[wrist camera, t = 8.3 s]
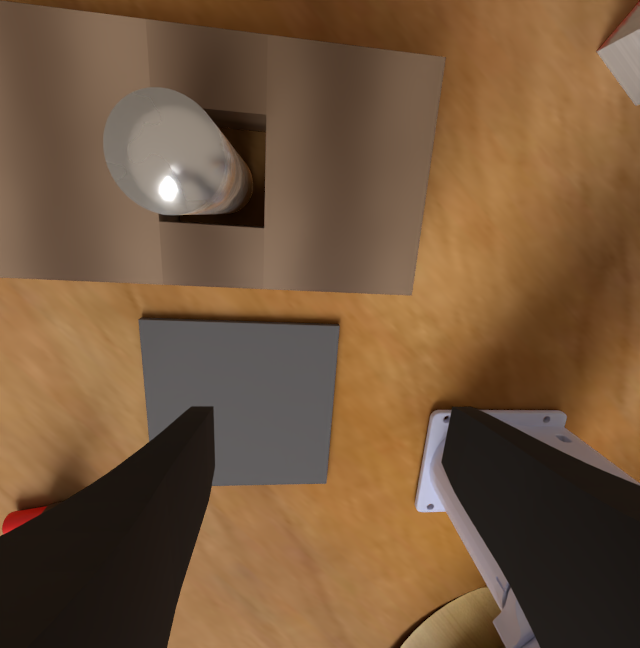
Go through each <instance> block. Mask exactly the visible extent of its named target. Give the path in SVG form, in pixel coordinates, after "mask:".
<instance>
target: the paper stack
mask: <svg viewBox="0 0 640 648" xmlns="http://www.w3.org/2000/svg"><path fill="white" fill-rule="evenodd" d="M500 613H501V610H500V608H499V606H498V604H497V603H496V601H495V599H494V597H493V595H492V594H491V592H490V590H489V588H488V587H487V588H479V589H477V590H475V591H472V592H469V593H467V594H465V595H463V596H461V597H459V598H457V599H456V600H454V601H452V602H450V603H448V604H447V605H446V606H444V607H443V608H441V609H440V610H438V611H437V612H435V613H434V614H433V615H431V616H430V617H429V618H428V619H426V620H425V621H424V622H423V623H422V624H421V625H420V626H419V627H418V628H417V629H416V630H415V631H414V632H413V633H412V634H411V635H410V636H409V637H408V639H407V640H406V641H405V642H404V643H403V645H402V646H401V647H400V648H506V647H505V645H504V643H503V641H502V639H501V637H500V635H499V633H498V631H497V630H496V628H495V626H494V624H493V620H494V619H495V618H496V617H497V616H498V615H499V614H500Z"/></svg>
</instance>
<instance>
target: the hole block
mask: <svg viewBox="0 0 640 648" xmlns="http://www.w3.org/2000/svg"><path fill="white" fill-rule="evenodd" d="M445 60H446V57H440V56H432V55H424V54H416V53H409V52H401V51H393V50H385V49H377V48H369V47H361V46H354V45H346V44H338V43H330V42H322V41H314V40H307V39H299V38H291V37H283V36H275V35H267V34H260V33H252V32H244V31H236V30H228V29H220V28H212V27H205V26H197V25H189V24H181V23H173V22H165V21H158V20H150V19H142V18H134V17H126V16H118V15H111V14H103V13H95V12H87V11H79V10H71V9H64V8H56V7H48V6H40V5H32V4H24V3H16V2H9V1H1V0H0V277H1V278H24V279H47V280H70V281H92V282H115V283H138V284H161V285H184V286H207V287H230V288H252V289H275V290H298V291H321V292H344V293H367V294H390V295H412V290H413V283H414V276H415V269H416V262H417V255H418V248H419V241H420V234H421V227H422V220H423V213H424V206H425V199H426V192H427V185H428V178H429V171H430V164H431V157H432V150H433V143H434V136H435V130H436V123H437V116H438V109H439V102H440V95H441V88H442V81H443V74H444V67H445ZM149 87H161V88H167V89H171V90H174V91H177V92H179V93H182V94H184V95H185V96H187V97H189V98H190V99H192V100H193V101H194V102H196V103H197V104H198V105H199V106H200V107H201V108H202V109H203V110H204V111H205V112H206V113H207V114H208V116H209V117H210V118H211V119H212V121H213V122H214V123H215V124H216V126H217V127H221V128H232V129H242V130H253V131H263V132H266V162H265V218H264V227H263V226H247V225H232V224H216V223H200V222H185V221H179V215H164V214H159V213H155V212H152V211H150V210H147V209H145V208H143V207H141V206H140V205H138V204H137V203H135V202H134V201H132V200H131V199H130V198H129V197H128V196H127V195H126V194H125V193H124V192H123V191H122V190H121V189H120V188H119V186H118V185H117V184H116V182H115V180H114V179H113V177H112V175H111V173H110V171H109V169H108V166H107V163H106V160H105V155H104V149H103V134H104V129H105V124H106V122H107V119H108V117H109V115H110V113H111V111H112V109H113V108H114V107H115V105H116V104H117V103H118V102H119V101H120V100H121V99H122V98H124V97H125V96H127V95H128V94H130V93H132V92H134V91H136V90H139V89H143V88H149Z"/></svg>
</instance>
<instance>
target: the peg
mask: <svg viewBox="0 0 640 648" xmlns="http://www.w3.org/2000/svg"><path fill="white" fill-rule="evenodd" d="M103 149H104V155H105V160H106V163H107V166H108V169H109V171H110V173H111V175H112V177H113V179H114V180H115V182H116V184H117V185H118V186H119V188H120V189H121V190H122V191H123V192H124V193H125V194H126V195H127V196H128V197H129V198H130V199H131V200H132V201H134V202H135V203H137V204H138V205H140V206H141V207H143V208H145V209H147V210H150V211H152V212H155V213H159V214H164V215H199V214H230V213H234V212H237V211H239V210H241V209H242V208H243V207H244V206H245V205H246V204H247V203H248V202H249V200H250V198H251V196H252V192H253V178H252V174H251V171H250V169H249V167H248V166H247V164H246V163H245V162H244V160H243V159H242V158H241V156H240V155H239V154H238V153H237V151H236V150H235V149H234V147H233V146H232V145H231V144H230V142H229V141H228V140H227V139H226V137H225V136H224V135H223V133H222V132H221V131H220V130H219V128H218V127H217V126H216V124H215V123H214V122H213V121H212V119H211V118H210V117H209V116H208V114H207V113H206V112H205V111H204V110H203V109H202V108H201V107H200V106H199V105H198V104H197V103H196V102H194V101H193V100H192V99H190V98H189V97H187V96H185V95H184V94H182V93H179V92H177V91H174V90H171V89H167V88H161V87H149V88H143V89H139V90H136V91H134V92H132V93H130V94H128V95H127V96H125V97H124V98H122V99H121V100H120V101H119V102H118V103H117V104H116V105H115V107H114V108H113V109H112V111H111V113H110V115H109V117H108V119H107V122H106V124H105V129H104V134H103Z"/></svg>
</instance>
